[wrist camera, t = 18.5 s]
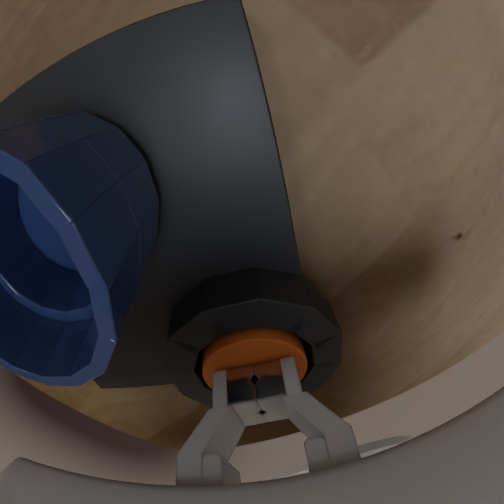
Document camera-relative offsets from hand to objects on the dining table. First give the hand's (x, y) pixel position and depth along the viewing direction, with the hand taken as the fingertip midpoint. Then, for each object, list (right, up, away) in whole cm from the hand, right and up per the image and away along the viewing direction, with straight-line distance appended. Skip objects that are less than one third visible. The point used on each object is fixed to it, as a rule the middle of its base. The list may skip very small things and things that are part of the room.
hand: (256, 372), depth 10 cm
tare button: (0, +1, +2) cm, 2 cm away
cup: (-6, +6, -2) cm, 9 cm away
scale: (-5, +5, +1) cm, 7 cm away
